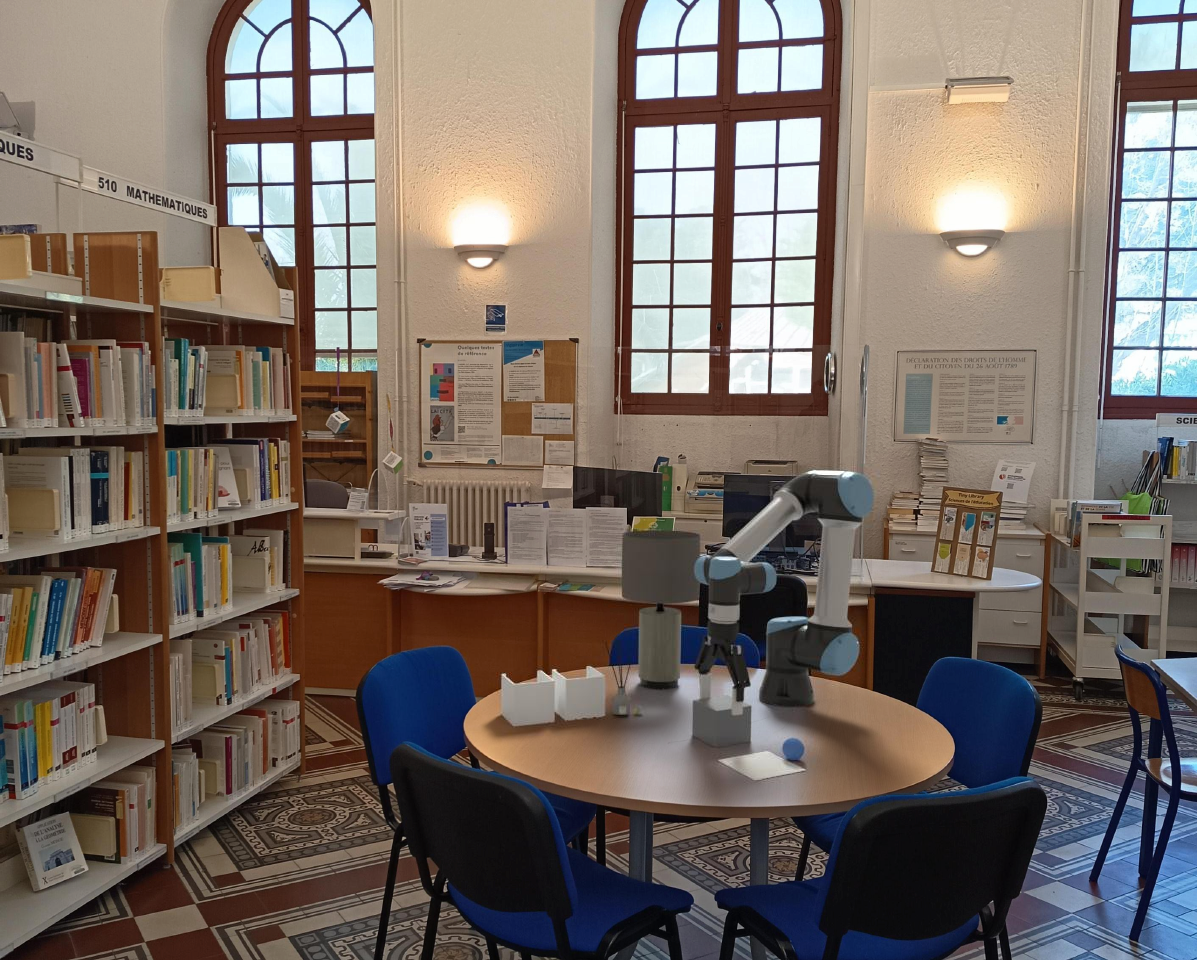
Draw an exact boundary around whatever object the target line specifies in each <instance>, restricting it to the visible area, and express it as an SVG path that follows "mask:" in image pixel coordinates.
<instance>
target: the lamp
mask: <svg viewBox="0 0 1197 960" xmlns="http://www.w3.org/2000/svg"><path fill="white" fill-rule="evenodd" d="M621 540H622V543H621V548H622V549H621V597H622V598H623V599H625V600H628V601H632V602H638V603H645V604H646V603H647V604H656V606H652V607H651V606H650V607H643V608H641V609H639V611H638V612H639V613H638V615H639V616H638V678H639V679H640V681H639V683H640V686H641V687H644V688H646V689H650V690H670V689H671V690H672V689H675V688H677V687H678V686H679V680H680V678H681V649H682V648H681V647H682V646H681V644H682V643H681V642H682V640H681V639H682V638H681V637H682V636H681V634H682V611H681V610H680V609H677V608H674V607H667V606H664V605H665V604H684V603H691V602H695V601H697V600H699V598H700V587H701V586H700V584H701V582H699V581H698V580H697V579H696V577H695V574H694V566H695V563H696V561H697V560H698V559H699V558H700V557H701V534H699V533H696V532H691V531H685V530H684V531H681V530H666V529H665V530H664V529H662V530H661V529H660V530H659V529H656V530H655V529H650V530H649V529H647V530H632V531H626V532H625V531H624V532H623V533H622V539H621Z"/></svg>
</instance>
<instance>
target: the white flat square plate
mask: <svg viewBox="0 0 1197 960" xmlns="http://www.w3.org/2000/svg"><path fill="white" fill-rule="evenodd" d="M717 762H720V763H721V764H722V765H724V766H727V767H728V768H730V769H732V770H734V771H736V772H738V773H740V774H741V775H743V776H745V777H746V778H749V779H751V780H752V781H755V782H756V781H757V780H758V781H762V780H767V778H768V779H771V778H772V777H773V778H777V776H778V777H782V775H783V776H786V775H787V774H788V775H791V774H792V775H794V774H797V772H798V773H802V771H803V772H807V769H805V768H803V767H801V766H799V765H797V764H795V763H793V762H791V761H790V760H787V759H784V758H782V757H780V756H778V755H777V754H774V753H772V752H770V751H768V750H766V751H761V752H754V753H750V754H743V755H737V756H733V757H732V756H731V757H727V758H721V759H717ZM758 781H757V782H758Z"/></svg>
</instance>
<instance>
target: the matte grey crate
mask: <svg viewBox="0 0 1197 960" xmlns="http://www.w3.org/2000/svg"><path fill="white" fill-rule="evenodd" d="M731 714H732V696H730V695H728V694H727V695H720V696H712V697H711V696H710V698H704V699H700V698H699V699H698V698H697V699H693V700H692V730H691V731H692V733H691V735H692V736H693V737H695V738H697V739H699V740H701V741H702V742H704V743H707V744H708V745H711V746H712V747H714V748H721V747H726V746H732V745H738V744H744V743H750V742H752V705H750V704H748V703H746V702H744V701H743V714H740V715H731Z"/></svg>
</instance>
